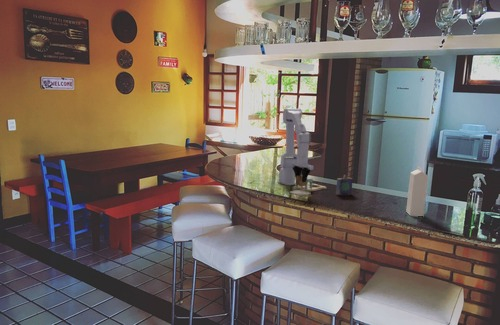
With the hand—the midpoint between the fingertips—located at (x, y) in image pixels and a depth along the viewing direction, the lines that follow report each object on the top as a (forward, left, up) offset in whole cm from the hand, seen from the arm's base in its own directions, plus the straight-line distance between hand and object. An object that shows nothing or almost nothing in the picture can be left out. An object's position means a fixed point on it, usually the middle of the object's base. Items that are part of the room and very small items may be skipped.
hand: (301, 181), depth 209 cm
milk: (+55, +18, -7) cm, 58 cm away
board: (-5, +13, -7) cm, 15 cm away
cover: (-5, +8, -6) cm, 11 cm away
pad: (0, 0, -7) cm, 7 cm away
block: (0, +1, -2) cm, 2 cm away
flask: (+14, +19, -7) cm, 24 cm away
